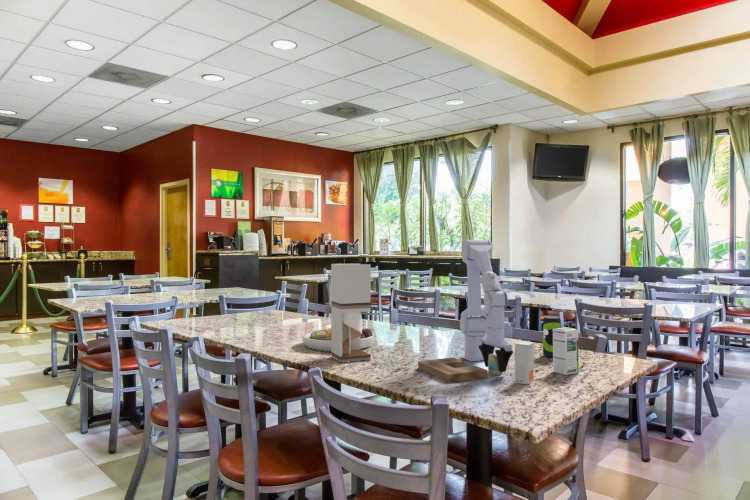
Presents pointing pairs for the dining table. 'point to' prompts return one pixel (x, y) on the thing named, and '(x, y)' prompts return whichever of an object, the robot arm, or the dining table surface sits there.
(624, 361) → the dining table surface
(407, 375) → the dining table surface
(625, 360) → the dining table surface
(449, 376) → the notched board
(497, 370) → the wooden bobbin
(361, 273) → the white cutaway tower
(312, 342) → the bowl
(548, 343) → the beverage can
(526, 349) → the skincare box
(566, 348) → the syrup box
